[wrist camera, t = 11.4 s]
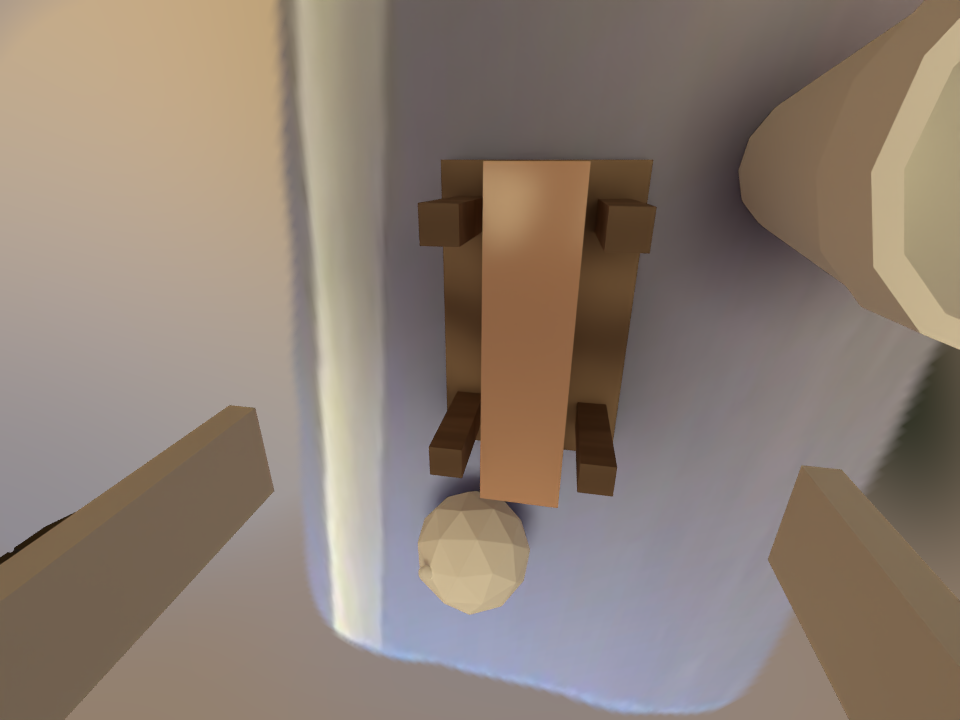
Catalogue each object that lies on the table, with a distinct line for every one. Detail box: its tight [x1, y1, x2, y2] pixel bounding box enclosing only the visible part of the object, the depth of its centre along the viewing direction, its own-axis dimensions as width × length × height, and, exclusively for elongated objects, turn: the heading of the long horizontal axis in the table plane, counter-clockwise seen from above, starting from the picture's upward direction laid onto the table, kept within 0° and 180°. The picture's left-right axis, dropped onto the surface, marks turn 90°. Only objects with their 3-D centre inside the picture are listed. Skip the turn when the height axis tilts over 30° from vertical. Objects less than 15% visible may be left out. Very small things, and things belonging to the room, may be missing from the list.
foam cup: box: [738, 0, 960, 349], centre depth 14 cm, size 10×9×13 cm
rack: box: [418, 160, 657, 496], centre depth 22 cm, size 16×10×8 cm, turn 179°
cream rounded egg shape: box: [418, 491, 530, 615], centre depth 28 cm, size 7×7×8 cm
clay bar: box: [480, 161, 591, 508], centre depth 22 cm, size 16×4×5 cm, turn 179°
